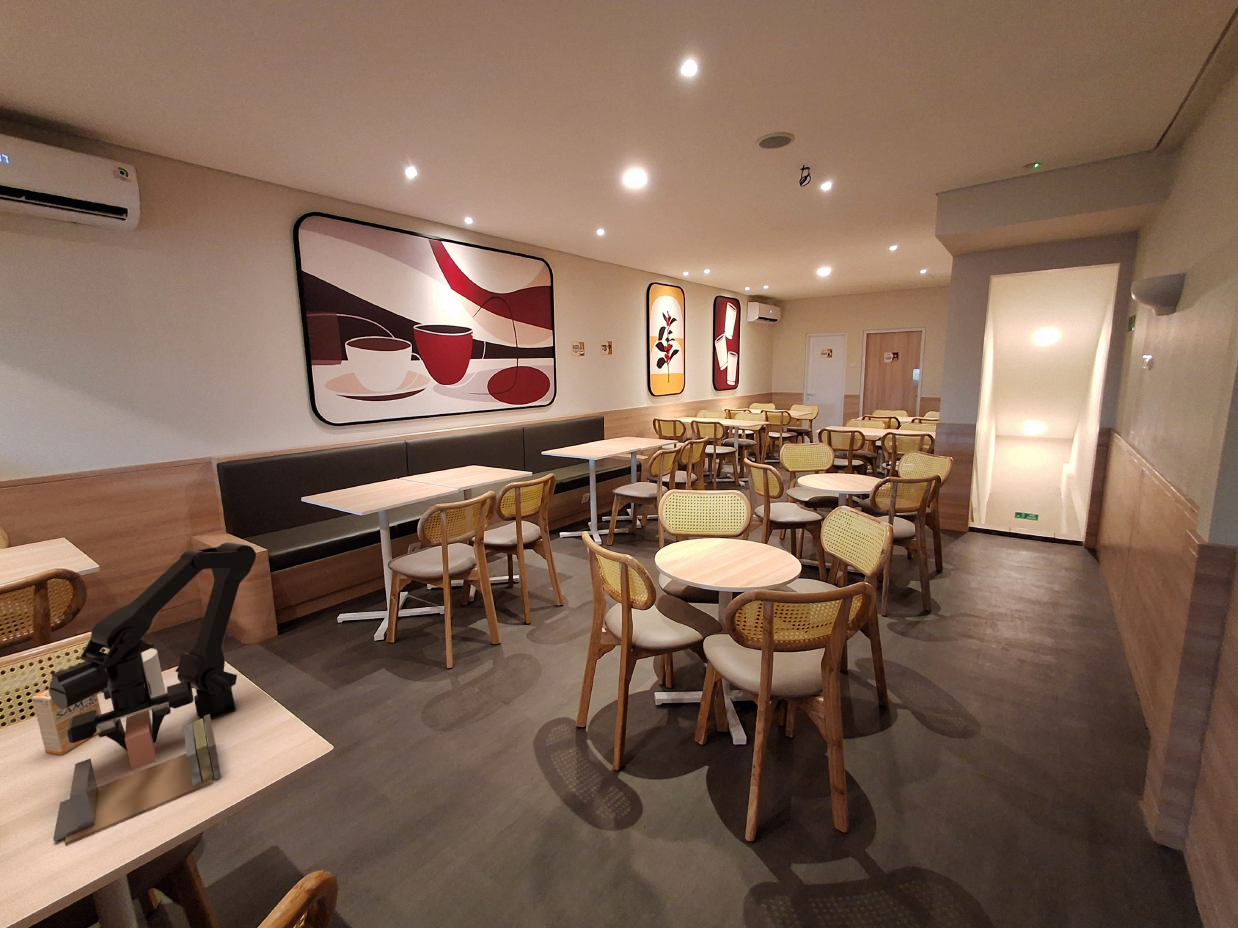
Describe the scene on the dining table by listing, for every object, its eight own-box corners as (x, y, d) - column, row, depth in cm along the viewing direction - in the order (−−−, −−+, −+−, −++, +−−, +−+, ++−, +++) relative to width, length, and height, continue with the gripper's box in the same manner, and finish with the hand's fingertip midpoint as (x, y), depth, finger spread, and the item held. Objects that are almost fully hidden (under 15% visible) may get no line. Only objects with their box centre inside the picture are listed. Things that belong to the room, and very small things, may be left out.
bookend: (98, 790, 102) (90, 758, 101) (94, 824, 94) (86, 790, 93) (60, 804, 99) (52, 771, 97) (54, 841, 91) (44, 806, 90)
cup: (138, 694, 132) (128, 649, 130) (174, 691, 133) (165, 647, 130) (111, 716, 124) (100, 668, 122) (150, 713, 125) (140, 666, 123)
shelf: (215, 744, 115) (209, 712, 113) (221, 779, 105) (215, 745, 103) (73, 798, 101) (64, 763, 99) (65, 845, 91) (55, 807, 90)
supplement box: (62, 756, 112) (48, 699, 109) (44, 752, 113) (29, 696, 110) (107, 729, 120) (94, 675, 117) (89, 726, 121) (76, 673, 118)
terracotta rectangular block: (155, 738, 117) (148, 709, 115) (155, 761, 110) (149, 731, 108) (133, 746, 114) (126, 717, 113) (132, 770, 108) (124, 739, 106)
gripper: (184, 645, 120) (196, 707, 124) (65, 678, 109) (83, 746, 112) (186, 666, 112) (200, 732, 115) (59, 705, 100) (77, 777, 104)
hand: (142, 745), depth 112 cm, fingers closed on terracotta rectangular block, 4 cm apart
